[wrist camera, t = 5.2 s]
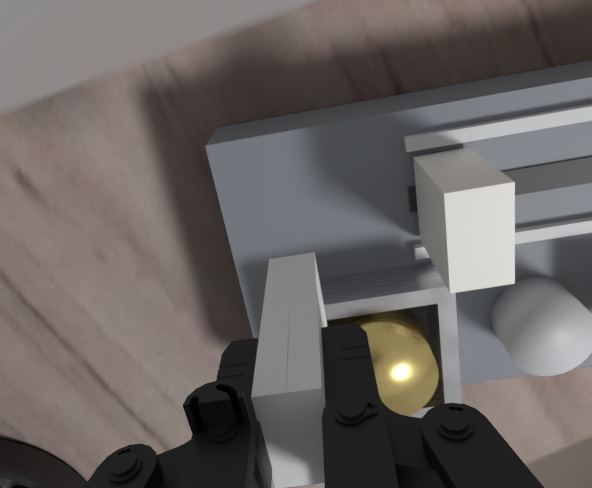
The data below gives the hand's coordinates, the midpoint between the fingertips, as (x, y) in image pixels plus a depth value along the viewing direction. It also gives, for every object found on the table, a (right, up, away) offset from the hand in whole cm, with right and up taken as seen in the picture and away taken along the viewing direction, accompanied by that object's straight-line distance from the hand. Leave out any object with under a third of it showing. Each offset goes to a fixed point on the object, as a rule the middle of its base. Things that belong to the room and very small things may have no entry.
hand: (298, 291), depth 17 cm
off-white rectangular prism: (+7, +4, +6) cm, 10 cm away
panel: (+9, +3, +11) cm, 14 cm away
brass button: (+4, -3, +9) cm, 10 cm away
